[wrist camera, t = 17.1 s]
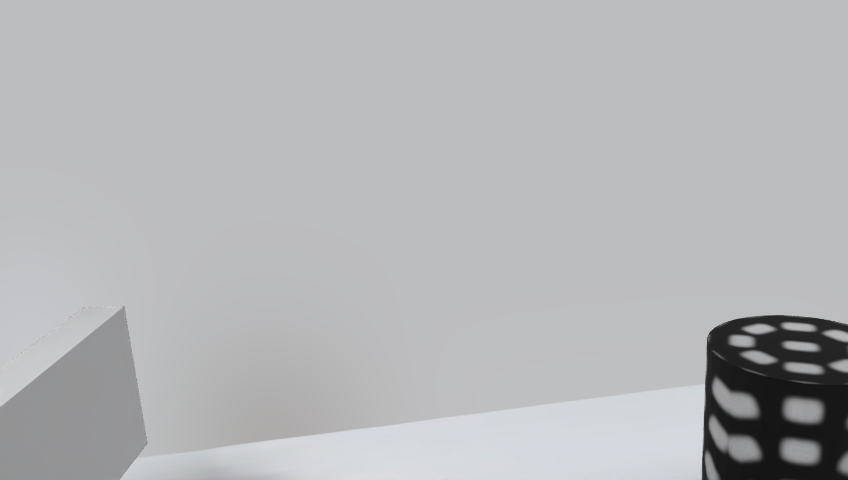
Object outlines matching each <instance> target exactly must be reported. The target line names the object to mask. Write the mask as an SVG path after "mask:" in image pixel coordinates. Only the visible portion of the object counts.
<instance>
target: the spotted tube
mask: <svg viewBox="0 0 848 480" xmlns="http://www.w3.org/2000/svg"><path fill="white" fill-rule="evenodd" d="M702 480H848V324H843V323H839V322H835V321H830V320H824V319H818V318H809V317H800V316H784V315H773V316H771V315H770V316H754V317H746V318H740V319H735V320H732V321H728V322H725V323H723V324H721V325H719V326H717V327H715V328H714V329H713V330H712V331H711V332H710V333H709V335H708V337H707V356H706V381H705V406H704V432H703V457H702Z"/></svg>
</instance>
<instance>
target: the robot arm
mask: <svg viewBox="0 0 848 480" xmlns="http://www.w3.org/2000/svg"><path fill="white" fill-rule="evenodd" d="M146 445H147V437H146V432H145V426H144V420H143V414H142V408H141V402H140V396H139V391H138V385H137V379H136V373H135V367H134V361H133V356H132V350H131V343H130V337H129V332H128V325H127V320H126V314H125V308H124V306H116V307H88V308H82V309H81V310H79V311H78V312H77V313H75V314H74V315H73V316H71V317H70V318H68V319H67V320H66V321H64V322H63V323H62V324H60V325H59V326H57V327H56V328H55V329H53V330H52V331H51V332H49V333H48V334H47V335H45V336H44V337H42V338H41V339H40V340H38V341H37V342H36V343H35V344H33V345H32V346H30V347H29V348H28V349H26V350H25V351H23V352H22V353H21V354H19V355H18V356H17V357H15V358H14V359H12V360H11V361H10V362H8V363H7V364H6V365H4V366H3V367H1V368H0V480H120V478H121V477H122V476H123V474H124V473H125V472H126V471H127V469H128V468H129V467H130V465H131V464H132V463H133V462H134V460H135V459H136V458H137V456H138V455H139V453H140V452H141V451H142V450H143V449H144V447H145V446H146Z"/></svg>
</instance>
